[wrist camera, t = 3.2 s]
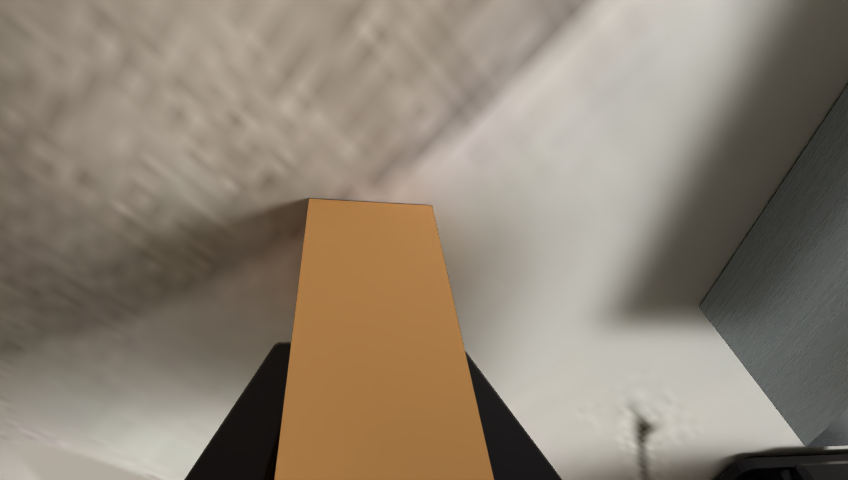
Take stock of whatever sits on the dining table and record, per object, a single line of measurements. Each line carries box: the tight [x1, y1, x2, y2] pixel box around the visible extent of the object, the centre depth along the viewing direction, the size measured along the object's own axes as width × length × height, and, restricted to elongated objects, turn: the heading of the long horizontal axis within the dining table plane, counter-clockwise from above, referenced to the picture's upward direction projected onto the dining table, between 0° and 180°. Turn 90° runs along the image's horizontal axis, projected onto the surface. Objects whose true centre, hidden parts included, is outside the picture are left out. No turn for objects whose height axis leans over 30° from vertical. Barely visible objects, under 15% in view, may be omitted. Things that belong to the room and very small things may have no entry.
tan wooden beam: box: [275, 199, 494, 480], centre depth 8 cm, size 4×2×9 cm
